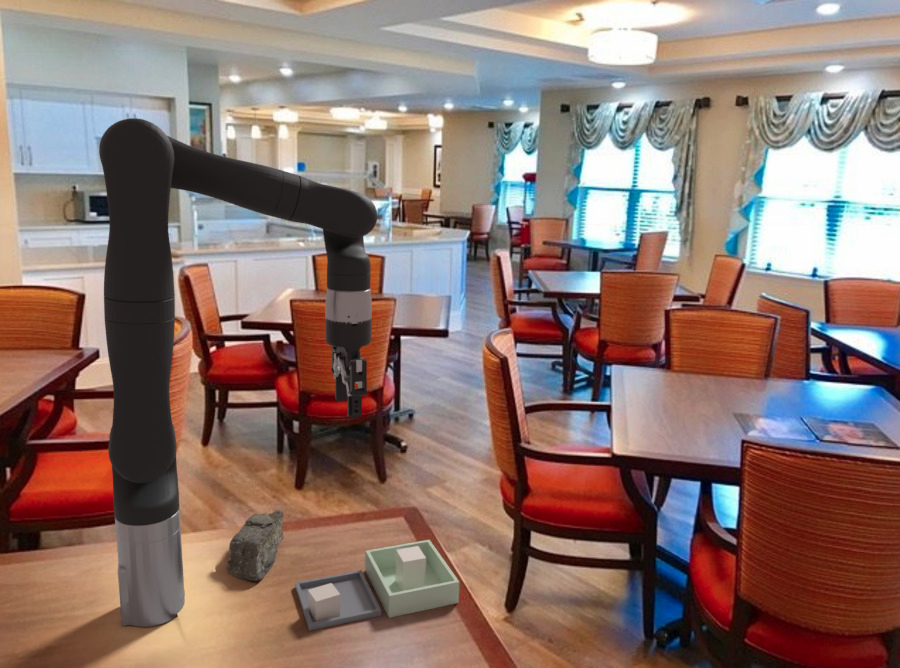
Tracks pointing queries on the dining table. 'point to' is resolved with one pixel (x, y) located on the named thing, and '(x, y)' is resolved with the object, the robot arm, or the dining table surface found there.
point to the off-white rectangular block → (410, 568)
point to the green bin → (435, 593)
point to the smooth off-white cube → (324, 602)
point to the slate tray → (341, 598)
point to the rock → (256, 546)
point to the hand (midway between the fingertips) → (348, 408)
